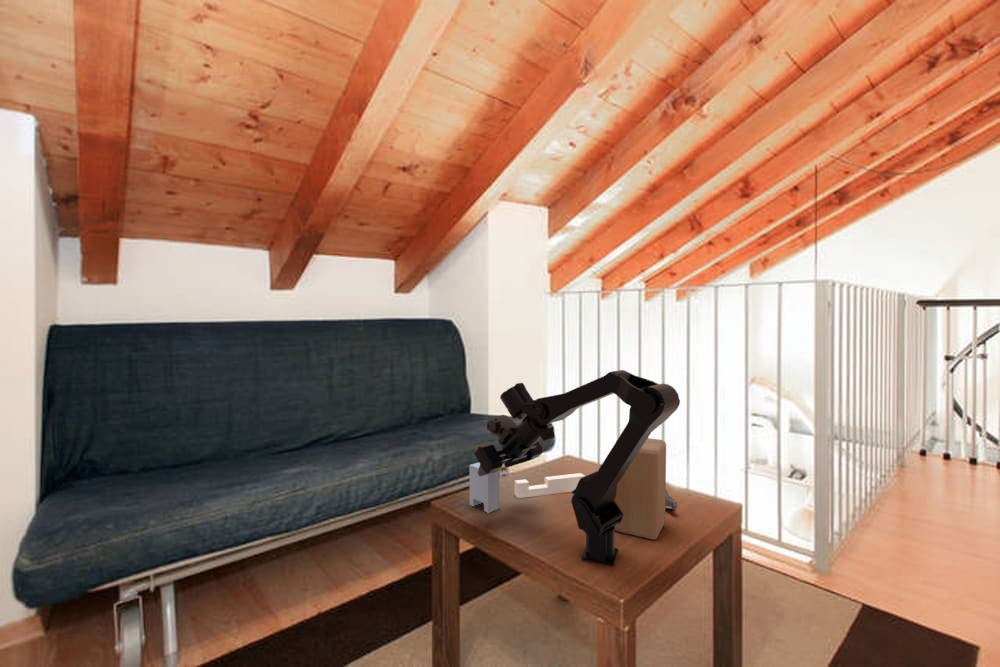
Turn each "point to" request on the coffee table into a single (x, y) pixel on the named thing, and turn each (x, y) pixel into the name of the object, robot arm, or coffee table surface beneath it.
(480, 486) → the slotted block
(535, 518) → the coffee table surface
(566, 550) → the coffee table surface
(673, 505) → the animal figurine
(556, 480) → the slotted rail
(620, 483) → the wooden block
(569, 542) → the coffee table surface
